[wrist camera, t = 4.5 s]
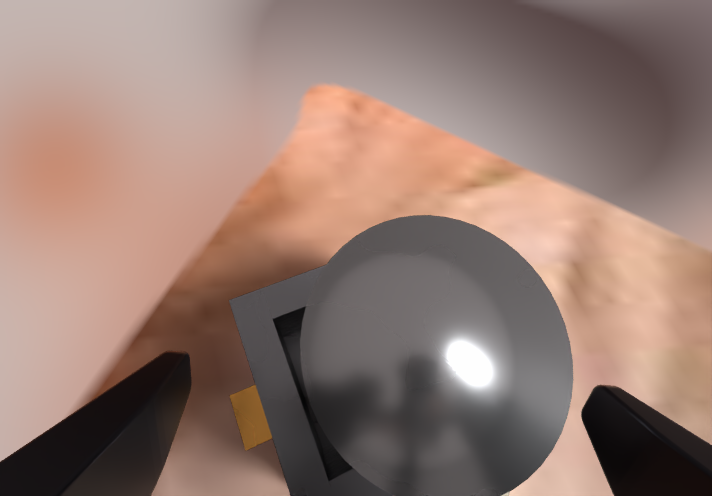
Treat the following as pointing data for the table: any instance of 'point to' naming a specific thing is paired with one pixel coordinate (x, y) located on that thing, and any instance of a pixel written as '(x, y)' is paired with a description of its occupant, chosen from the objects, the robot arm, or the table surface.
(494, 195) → the table surface
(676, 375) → the table surface
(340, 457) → the stand collar
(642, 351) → the table surface
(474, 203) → the table surface
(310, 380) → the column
